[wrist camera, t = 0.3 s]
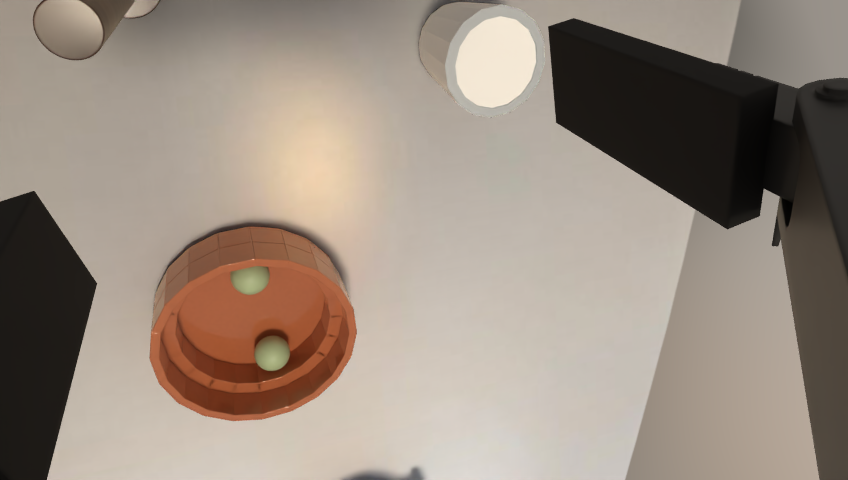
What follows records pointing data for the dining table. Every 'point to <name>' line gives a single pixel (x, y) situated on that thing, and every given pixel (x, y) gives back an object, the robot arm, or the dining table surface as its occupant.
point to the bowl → (250, 325)
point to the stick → (83, 23)
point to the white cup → (483, 55)
